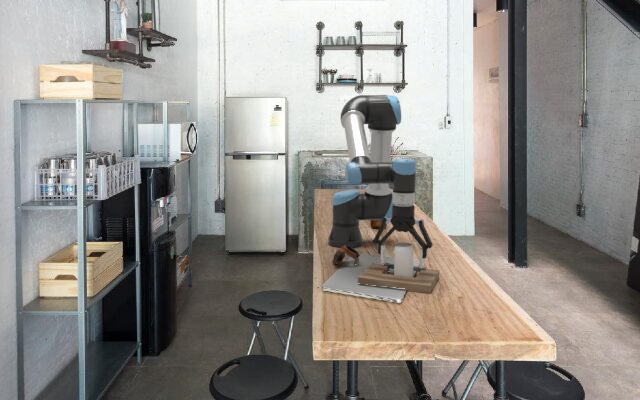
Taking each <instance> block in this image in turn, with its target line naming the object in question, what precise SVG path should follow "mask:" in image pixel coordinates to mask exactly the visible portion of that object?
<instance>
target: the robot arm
mask: <svg viewBox="0 0 640 400" xmlns="http://www.w3.org/2000/svg"><path fill="white" fill-rule="evenodd" d="M401 123H402V108H401V103H400V101H399V98H398V97H397V96H396V95H389V94H371V95H370V94H369V95H368V94H360V95H357V96H354V97H351V98H350V99H349V100H348V101H347V102H346V103H345V104H344V106H343V107H342V109H341V113H340V124H341V127H342V128H343V129H344V134H345V140H346V146H347V152H348V158H349V162H347V163H346V165H345V181H346V182H347V184H354V185H365V184H367V186H366V187H365V188H364V193H361V192H360V190H357V189H349V190H348V189H347V190H342V191H338V192H336V193H333V196H332V203H331V206H332V217H331V218H332V220H331V221H332V224H331V229H330V233H329V236H328V243H327V244H328V245H329V246H331V247H335V248H342V247H343V246H344V245H347V246H350V247H351V248H357V247H361V246H363V244H364V239H363V236H362V233H361V228H360V221H382V222H381V225H380V227H379V229H378V231H377V233H376V235H375V237H374V238H373V239H372V243H373V244H377V251H378V252H377V253H378V255H380V264H383V265H384V264H385V263H386V259H385V258H386V256H385V255H386V244H385V241H386V240H387V239H388V238H389V237H390V236H391V235H392V234H393V233H394V232H395V231H397V233H398V232H400V233H402V232H403V233H408V232H409V234H410V235H411V236H413V238H414V239H415V241H416V242H417V243H418V244H419V246H420V247H421V248H420V249H419V267H420V268H422V267H424V262H425V261H424V259H427V256H428V249H431V248H432V247H433V246H434V245H433V242H432V240H431V238H430V235H429V233H428V231H427V229H426V227H425V221H424V219H421V218H420V219H415V209H416V206H415V202H416V201H415V200H416V178H417V177H416V175H417V167H416V164H417V162H416V160H415V159H413V158H395V159H393V161H391V153H392V139H393V133H394V132H395V131H396V130H397V126H398V125H400V124H401ZM365 125H367V129H368V130H369V131H370V134H371V135H370V147H369V145H368V139H367V135H366V130H365ZM369 148H370V150H369ZM390 184H392V189H391V188H390ZM389 223H390V224H391V225H392V227H391V228H390V229H389V230H388V232H387V233H385V235H384V236H383V237H382V236H381V235H382V234H383V232H384V230H385V229H386V226H387V225H389ZM415 225H416V226H417V227H419V230H420V232H421V235H422V237H423V238H422V237H421V236H420V234H419V233H418V232H417V230H416V228H415V227H414V226H415ZM380 237H382V238H381V239H380ZM423 239H424V240H423Z"/></svg>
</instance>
